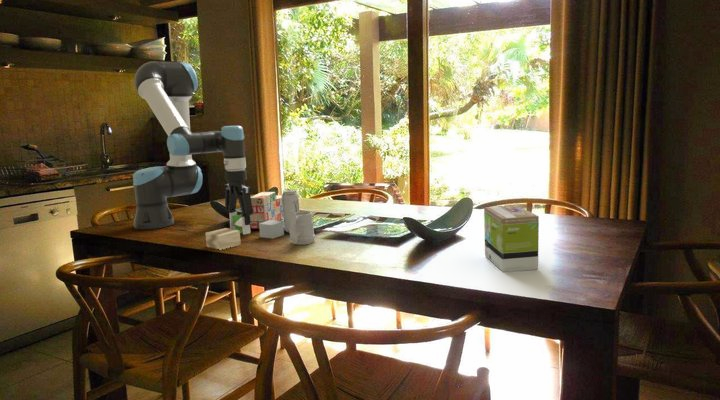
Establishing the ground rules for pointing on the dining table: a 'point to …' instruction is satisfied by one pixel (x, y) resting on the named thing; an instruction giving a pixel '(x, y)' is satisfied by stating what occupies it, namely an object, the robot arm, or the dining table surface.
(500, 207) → the tea box
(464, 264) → the dining table surface
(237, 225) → the geometric puzzle
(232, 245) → the beech block
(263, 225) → the grey block
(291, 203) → the energy drink can
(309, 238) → the mug
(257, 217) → the stack of blocks
